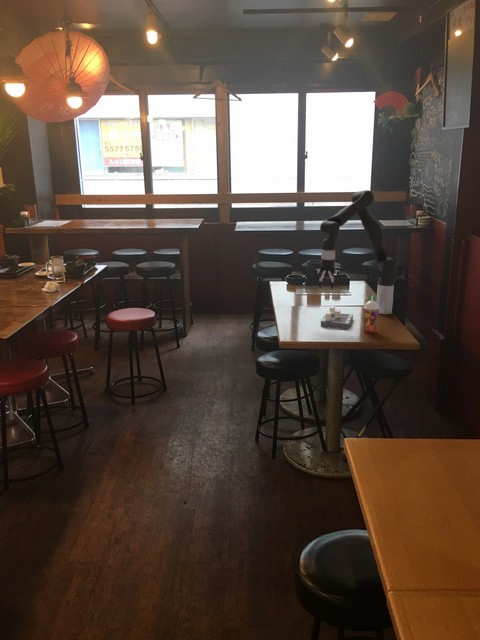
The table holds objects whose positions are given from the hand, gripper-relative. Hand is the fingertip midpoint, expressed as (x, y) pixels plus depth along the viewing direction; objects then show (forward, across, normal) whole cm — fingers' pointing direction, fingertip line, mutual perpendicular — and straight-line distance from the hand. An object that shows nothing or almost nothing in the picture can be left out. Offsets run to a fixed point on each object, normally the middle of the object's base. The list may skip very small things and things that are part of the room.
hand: (326, 288), depth 311 cm
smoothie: (+20, -26, +11) cm, 34 cm away
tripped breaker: (+16, -7, 0) cm, 18 cm away
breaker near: (+16, -3, +7) cm, 18 cm away
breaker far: (+16, -3, -6) cm, 18 cm away
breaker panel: (+19, -7, 0) cm, 21 cm away
